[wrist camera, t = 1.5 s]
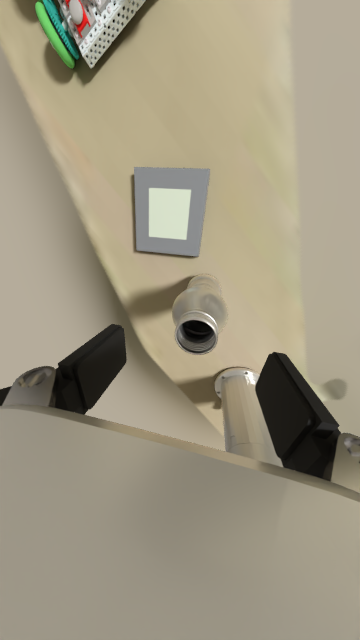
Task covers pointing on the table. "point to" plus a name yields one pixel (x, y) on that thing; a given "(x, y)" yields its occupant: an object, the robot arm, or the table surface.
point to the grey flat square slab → (170, 209)
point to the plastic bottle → (199, 315)
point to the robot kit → (84, 26)
